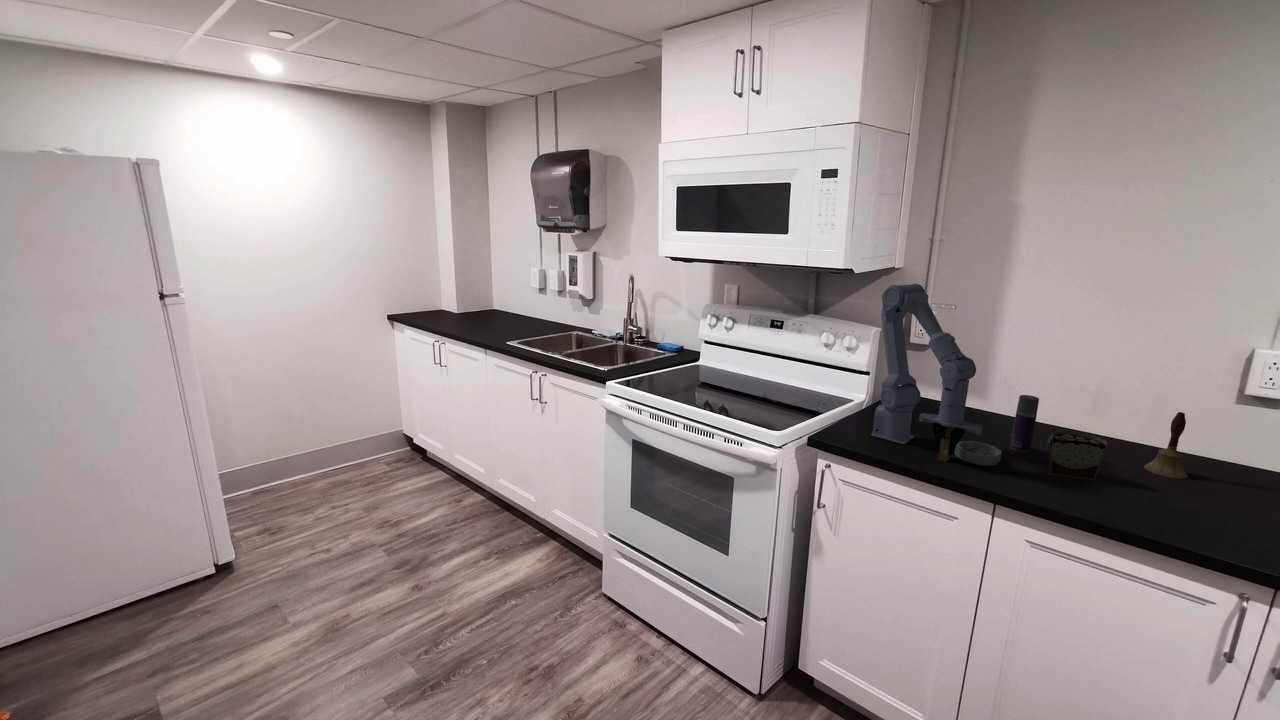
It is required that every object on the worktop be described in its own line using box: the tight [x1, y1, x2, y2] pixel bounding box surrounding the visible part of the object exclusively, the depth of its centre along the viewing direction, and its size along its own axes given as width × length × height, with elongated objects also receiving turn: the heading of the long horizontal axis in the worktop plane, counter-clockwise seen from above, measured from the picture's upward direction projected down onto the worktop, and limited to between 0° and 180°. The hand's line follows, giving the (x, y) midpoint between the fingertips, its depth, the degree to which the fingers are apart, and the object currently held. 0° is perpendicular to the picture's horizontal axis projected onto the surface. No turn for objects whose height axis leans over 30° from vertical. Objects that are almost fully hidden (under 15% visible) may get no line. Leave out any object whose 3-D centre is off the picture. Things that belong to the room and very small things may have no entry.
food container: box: [1047, 430, 1110, 481], centre depth 144 cm, size 12×6×10 cm, turn 71°
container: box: [1009, 394, 1040, 453], centre depth 157 cm, size 5×5×15 cm
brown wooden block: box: [937, 434, 952, 463], centre depth 151 cm, size 2×4×6 cm, turn 137°
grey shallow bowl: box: [953, 440, 1003, 466], centre depth 153 cm, size 10×10×3 cm
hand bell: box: [1144, 411, 1189, 480], centre depth 144 cm, size 8×8×16 cm
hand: (945, 452), depth 152 cm, fingers closed on brown wooden block, 2 cm apart
